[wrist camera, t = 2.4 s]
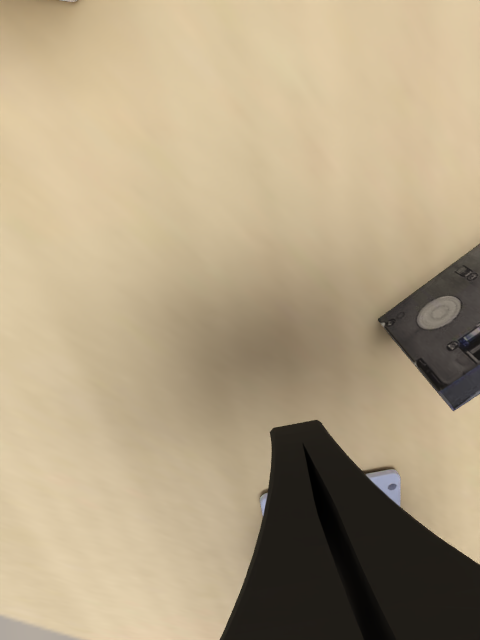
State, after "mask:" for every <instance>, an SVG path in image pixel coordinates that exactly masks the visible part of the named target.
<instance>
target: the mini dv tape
mask: <svg viewBox="0 0 480 640" xmlns="http://www.w3.org/2000/svg"><path fill="white" fill-rule="evenodd" d="M378 321H379V322H380V323H381V325H382V326H383V327H384V329H385V330H386V331H387V332H388V334H389V335H390V336H391V337H392V339H393V340H394V341H395V342H396V343H397V345H398V346H399V347H400V348H401V349H402V351H403V352H404V353H405V354H406V355H407V357H408V358H409V359H410V360H411V361H412V363H413V364H414V365H415V366H416V367H417V369H418V370H419V371H420V372H421V373H422V375H423V376H424V377H425V378H426V379H427V381H428V382H429V383H430V384H431V385H432V387H433V388H434V389H435V390H436V391H437V393H438V394H439V395H440V396H441V397H442V399H443V400H444V401H445V402H446V403H447V404H448V406H449V407H450V408H451V409H452V410H453V411H455V410H456V409H458V408H459V407H461V406H462V405H464V404H465V403H467V402H468V401H470V400H471V399H473V398H474V397H476V396H477V395H479V394H480V244H479V245H478V246H476V247H475V248H473V249H472V250H471V251H469V252H468V253H467V254H465V255H464V256H463V257H461V258H460V259H459V260H457V261H456V262H455V263H453V264H452V265H450V266H449V267H448V268H446V269H445V270H444V271H442V272H441V273H440V274H438V275H437V276H436V277H434V278H433V279H432V280H430V281H429V282H427V283H426V284H425V285H423V286H422V287H421V288H419V289H418V290H417V291H415V292H414V293H413V294H411V295H410V296H409V297H407V298H406V299H404V300H403V301H402V302H400V303H399V304H398V305H396V306H395V307H394V308H392V309H391V310H390V311H388V312H387V313H386V314H384V315H383V316H381V317H380V318H379V319H378Z"/></svg>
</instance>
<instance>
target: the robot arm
mask: <svg viewBox="0 0 480 640" xmlns="http://www.w3.org/2000/svg"><path fill="white" fill-rule="evenodd" d="M270 436H271V443H272V459H271V472H270V480H269V488H268V493H265V494H263V495H262V496H261V498H260V504H261V509H262V514H263V519H262V524H261V528H260V532H259V536H258V539H257V543H256V546H255V550H254V553H253V556H252V559H251V562H250V565H249V569H248V572H247V575H246V578H245V580H244V583H243V586H242V589H241V591H240V594H239V596H238V599H237V601H236V603H235V606H234V608H233V611H232V613H231V615H230V618H229V620H228V623H227V625H226V627H225V630H224V632H223V634H222V636H221V638H220V640H480V565H479V564H478V563H476V562H475V561H473V560H472V559H470V558H469V557H467V556H466V555H464V554H463V553H461V552H460V551H458V550H457V549H455V548H454V547H452V546H451V545H449V544H448V543H446V542H445V541H444V540H442V539H441V538H439V537H438V536H436V535H435V534H434V533H432V532H431V531H430V530H429V529H427V528H426V527H425V526H423V525H422V524H421V523H419V522H418V521H417V520H416V519H414V518H413V517H412V516H411V515H409V514H408V513H407V512H406V511H404V510H403V509H402V508H401V507H400V475H399V474H398V472H397V471H396V470H394V469H389V470H384V471H379V472H373V473H368V474H364V473H363V472H362V471H361V470H360V468H359V467H358V466H357V465H356V464H355V463H354V462H353V461H352V460H351V459H350V458H349V457H348V456H347V455H346V453H345V452H344V451H343V450H342V449H341V448H340V446H339V445H338V444H337V443H336V442H335V440H334V439H333V438H332V437H331V435H330V434H329V433H328V432H327V430H326V429H325V428H324V426H323V425H322V423H321V422H319V421H318V420H313V421H308V422H303V423H297V424H292V425H287V426H282V427H276V428H273V429H272V430H271V431H270ZM390 484H391V485H390Z"/></svg>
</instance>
